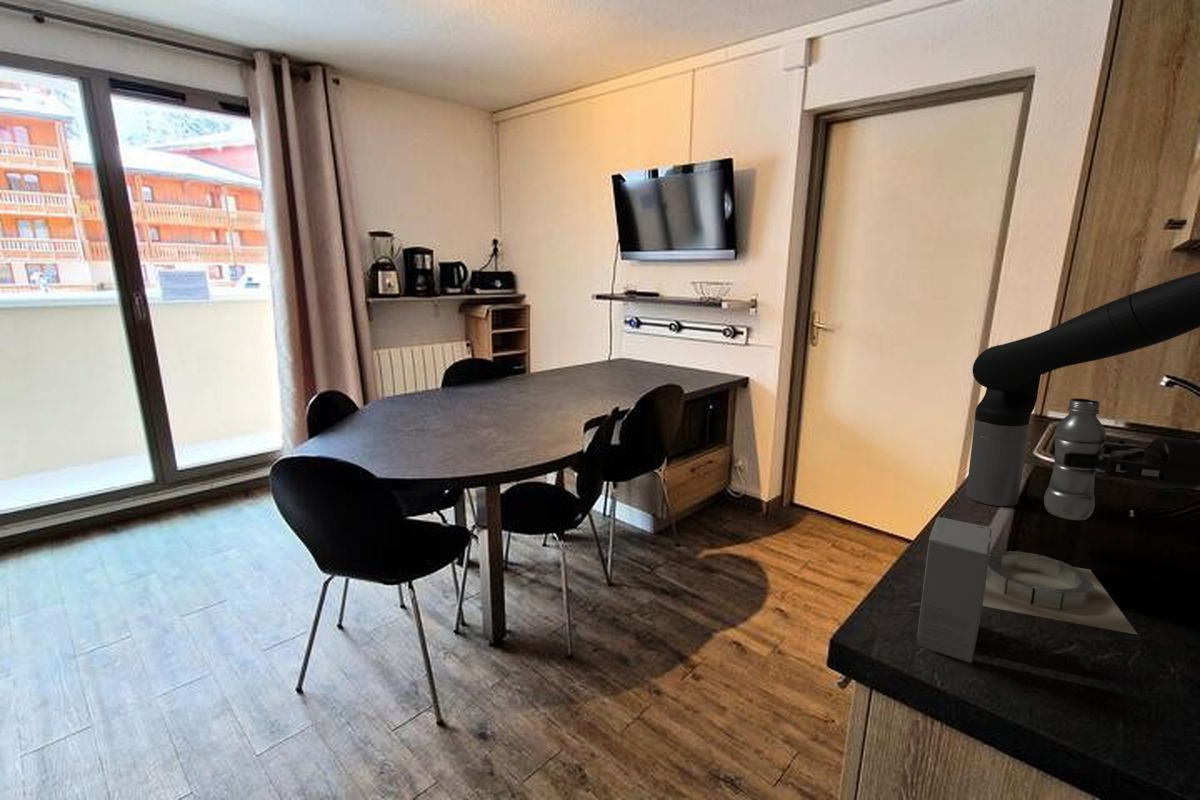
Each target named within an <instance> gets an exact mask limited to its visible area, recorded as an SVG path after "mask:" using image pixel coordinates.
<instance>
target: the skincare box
mask: <svg viewBox="0 0 1200 800" xmlns="http://www.w3.org/2000/svg"><path fill="white" fill-rule="evenodd" d="M992 541H993V539H992V527H990V526H987V525H982V524H975V523H972V522H965V521H961V520H956V519H951V518H946V517H941V516H937V517H936V519H935V522H934V525H933V527H932V529H931V531H930V534H929V538H928V546H927V554H926V562H925V568H924V569H925V570H924V578H923V587H922V594H921V601H920V611H919V619H918V620H919V621H918V626H917V627H918V628H917V635H916V639H917V640H916V642H915V644H916V647H919V646H920V647H919V648H922V647H923V648H922V649H925V648H926V650H929V651H930V652H931V651H932V652H935V653H937V654H941V655H944V656H948V657H950V658H953V659H956V660H959V661H963V662H966V663H968V664H971V663H973V659H974V658H973V657H974V654H975V650H976V649H975V648H976V644H977V640H978V634H979V629H980V628H979V627H980V625H981V624H980V623H981V617H982V611H983V606H982V605H983V599H984V593H985V587H986V579H987V571H988V562H989V554H990V551H991V550H990V549H991V543H992Z"/></svg>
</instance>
